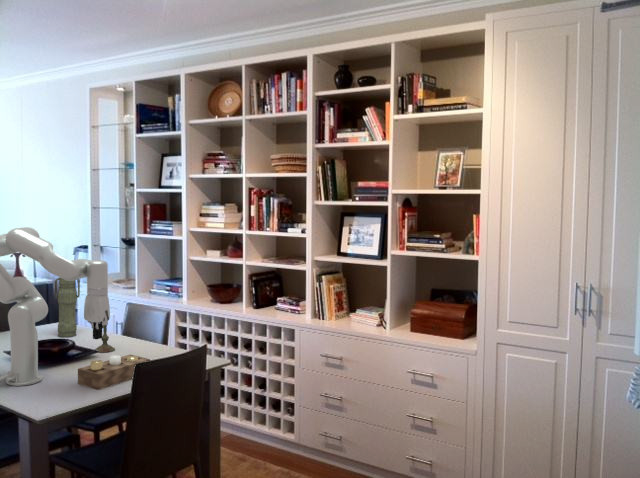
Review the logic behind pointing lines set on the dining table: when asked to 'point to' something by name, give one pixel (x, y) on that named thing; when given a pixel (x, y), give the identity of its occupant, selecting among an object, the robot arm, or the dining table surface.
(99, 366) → the near brass knob
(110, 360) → the middle white knob
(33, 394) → the dining table surface
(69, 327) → the thermos
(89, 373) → the wooden block
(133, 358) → the far brass knob
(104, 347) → the candlestick holder
